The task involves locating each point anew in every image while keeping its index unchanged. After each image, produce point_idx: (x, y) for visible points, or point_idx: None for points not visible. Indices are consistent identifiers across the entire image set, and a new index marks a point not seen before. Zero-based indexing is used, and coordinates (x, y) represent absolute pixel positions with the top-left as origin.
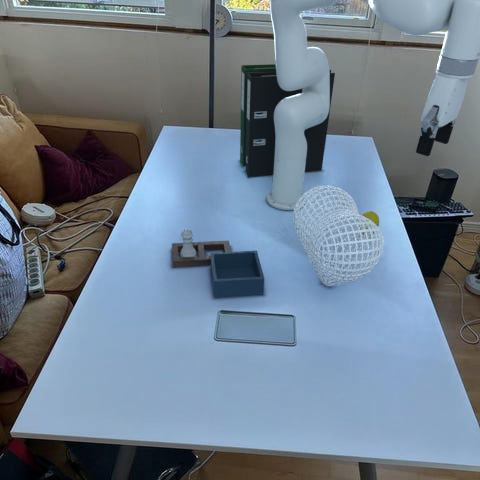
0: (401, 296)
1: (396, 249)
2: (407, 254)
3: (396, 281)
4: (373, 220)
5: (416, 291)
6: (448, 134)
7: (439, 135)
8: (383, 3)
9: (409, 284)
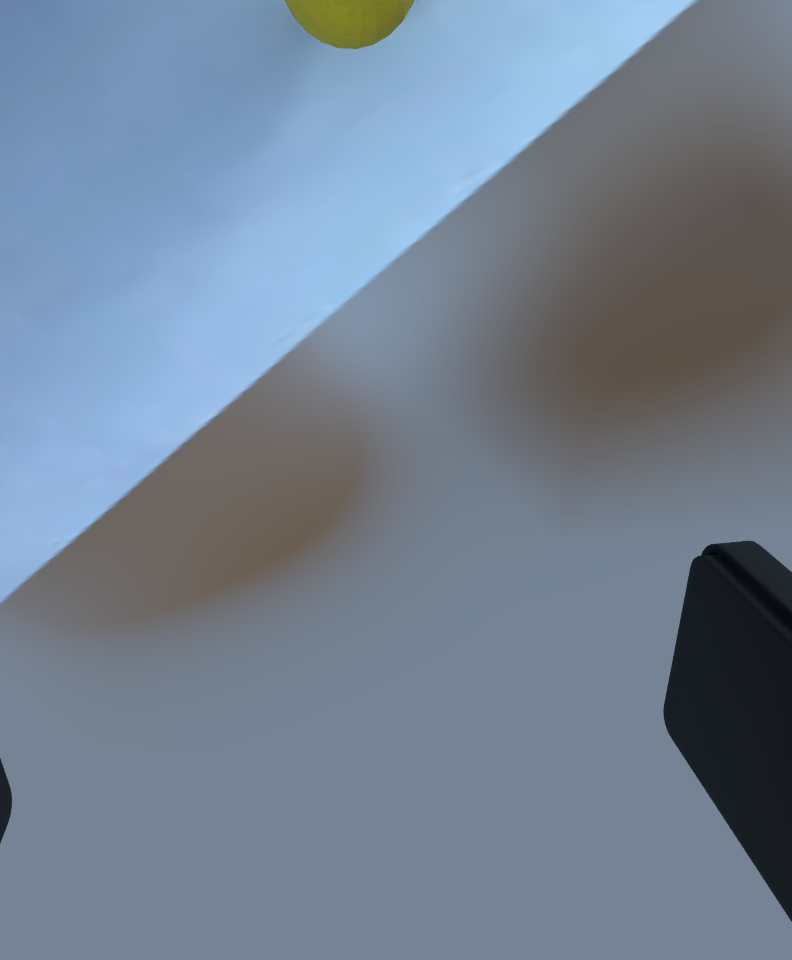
0: (4, 455)
1: (344, 224)
2: (343, 295)
3: (84, 379)
4: (317, 7)
5: (98, 480)
6: (747, 845)
7: (747, 669)
8: None
9: (118, 433)
